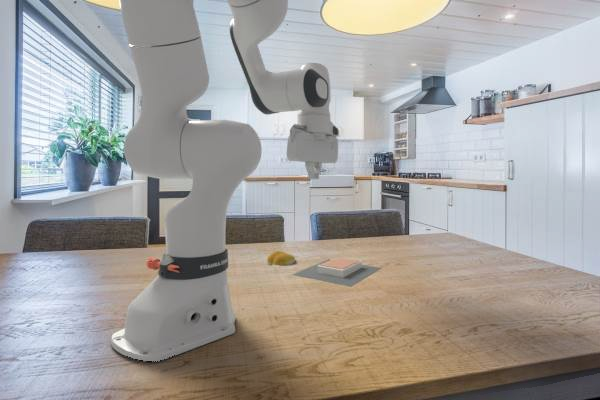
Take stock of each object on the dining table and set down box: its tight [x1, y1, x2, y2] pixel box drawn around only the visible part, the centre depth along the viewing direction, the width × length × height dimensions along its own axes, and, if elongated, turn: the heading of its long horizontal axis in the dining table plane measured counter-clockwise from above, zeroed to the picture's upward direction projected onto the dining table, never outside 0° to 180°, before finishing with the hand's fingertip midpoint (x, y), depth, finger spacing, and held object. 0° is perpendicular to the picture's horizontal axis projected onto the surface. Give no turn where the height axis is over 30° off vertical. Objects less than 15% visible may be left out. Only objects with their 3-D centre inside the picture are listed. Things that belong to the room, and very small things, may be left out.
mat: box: [291, 258, 382, 287], centre depth 103 cm, size 20×18×1 cm
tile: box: [317, 256, 363, 278], centre depth 104 cm, size 2×8×12 cm
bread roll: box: [266, 250, 296, 266], centre depth 114 cm, size 8×9×4 cm
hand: (313, 179), depth 98 cm, fingers closed
